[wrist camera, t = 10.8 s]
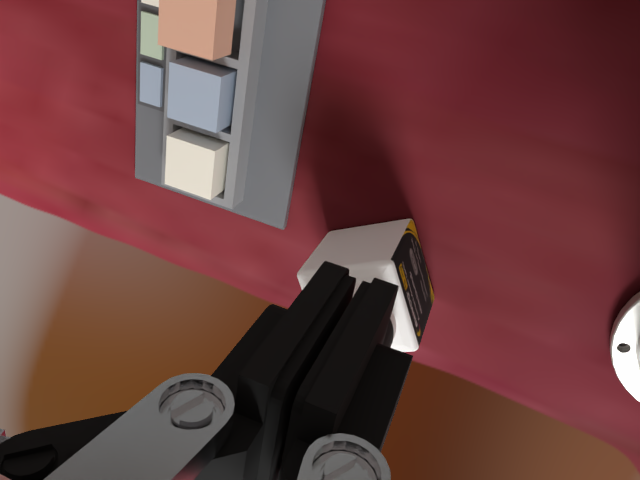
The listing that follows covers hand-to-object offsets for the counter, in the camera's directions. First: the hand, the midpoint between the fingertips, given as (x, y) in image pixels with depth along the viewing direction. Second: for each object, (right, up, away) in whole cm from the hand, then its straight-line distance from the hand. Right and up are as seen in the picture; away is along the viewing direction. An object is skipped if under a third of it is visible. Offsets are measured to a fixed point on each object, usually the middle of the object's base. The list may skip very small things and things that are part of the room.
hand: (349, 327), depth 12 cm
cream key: (-10, +8, +32) cm, 34 cm away
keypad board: (-8, +16, +29) cm, 34 cm away
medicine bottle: (+4, 0, +32) cm, 33 cm away
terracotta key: (-8, +17, +25) cm, 31 cm away
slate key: (-9, +13, +29) cm, 33 cm away
